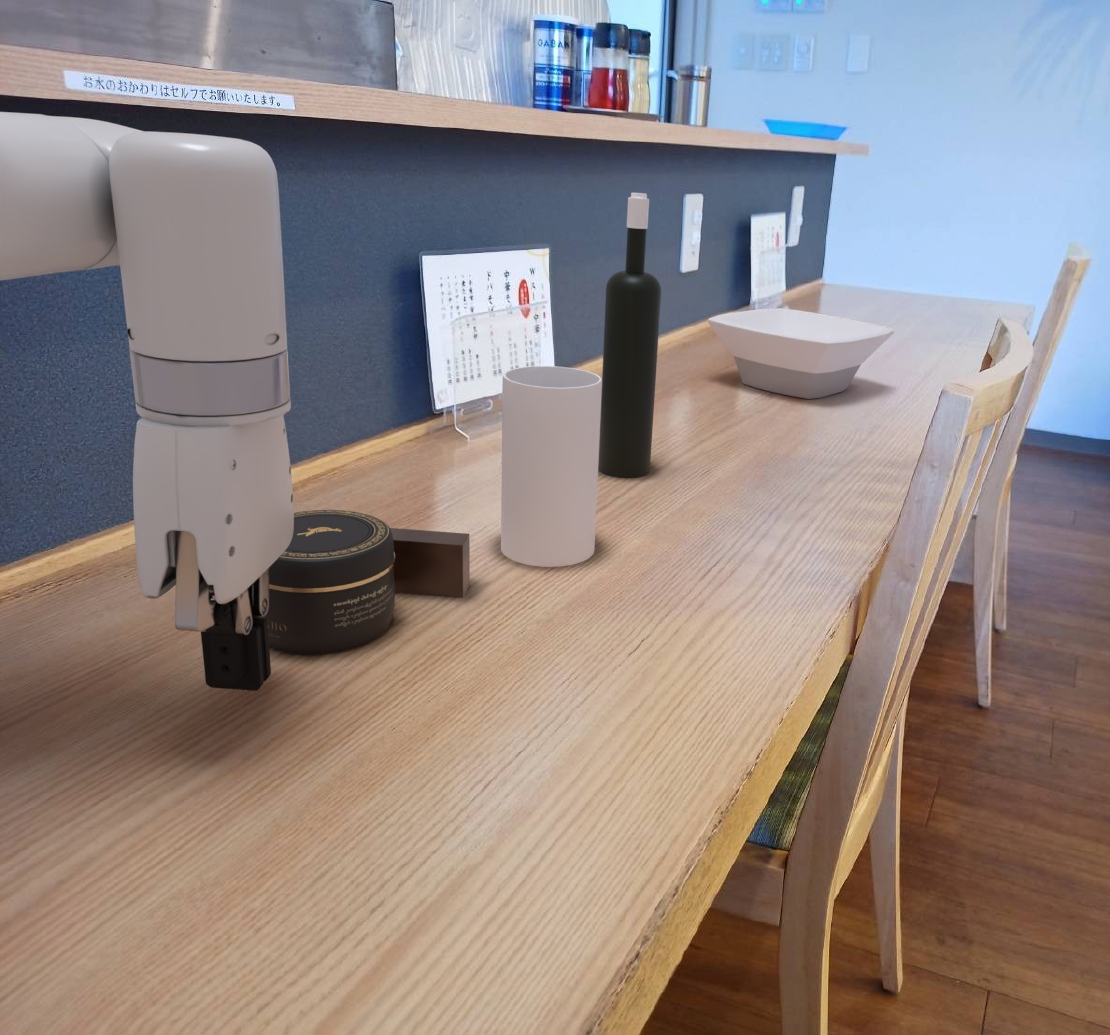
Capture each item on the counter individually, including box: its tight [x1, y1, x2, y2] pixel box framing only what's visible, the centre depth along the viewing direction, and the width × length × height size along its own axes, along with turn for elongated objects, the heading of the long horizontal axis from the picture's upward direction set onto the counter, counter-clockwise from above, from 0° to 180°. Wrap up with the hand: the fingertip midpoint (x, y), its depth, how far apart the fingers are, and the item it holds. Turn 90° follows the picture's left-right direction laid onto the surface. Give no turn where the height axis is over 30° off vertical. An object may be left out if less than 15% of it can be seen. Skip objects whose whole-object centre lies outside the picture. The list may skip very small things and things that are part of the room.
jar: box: [259, 509, 396, 655], centre depth 70 cm, size 10×10×8 cm
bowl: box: [707, 307, 895, 400], centre depth 157 cm, size 24×25×10 cm
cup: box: [500, 365, 602, 568], centre depth 85 cm, size 8×8×16 cm
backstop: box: [389, 527, 471, 599], centre depth 77 cm, size 18×2×5 cm, turn 89°
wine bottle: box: [598, 191, 662, 479], centre depth 105 cm, size 6×6×30 cm
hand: (239, 681), depth 59 cm, fingers closed
